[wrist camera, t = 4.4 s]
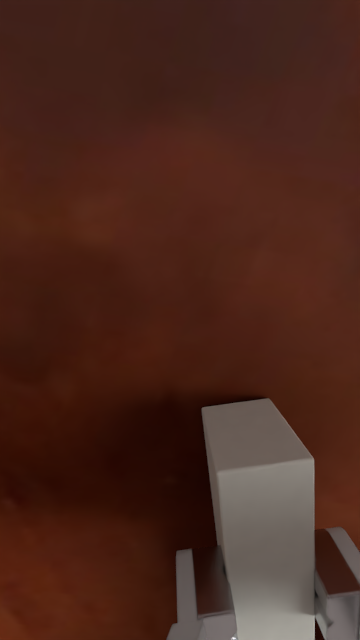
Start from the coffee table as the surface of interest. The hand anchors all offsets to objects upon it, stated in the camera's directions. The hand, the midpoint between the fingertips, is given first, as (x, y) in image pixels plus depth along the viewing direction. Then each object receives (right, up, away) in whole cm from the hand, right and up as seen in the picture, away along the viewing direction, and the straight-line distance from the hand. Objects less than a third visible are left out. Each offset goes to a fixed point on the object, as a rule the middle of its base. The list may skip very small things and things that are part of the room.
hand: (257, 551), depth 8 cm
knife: (+1, -5, +3) cm, 6 cm away
